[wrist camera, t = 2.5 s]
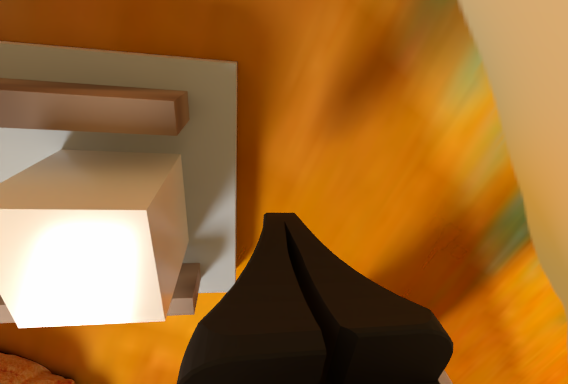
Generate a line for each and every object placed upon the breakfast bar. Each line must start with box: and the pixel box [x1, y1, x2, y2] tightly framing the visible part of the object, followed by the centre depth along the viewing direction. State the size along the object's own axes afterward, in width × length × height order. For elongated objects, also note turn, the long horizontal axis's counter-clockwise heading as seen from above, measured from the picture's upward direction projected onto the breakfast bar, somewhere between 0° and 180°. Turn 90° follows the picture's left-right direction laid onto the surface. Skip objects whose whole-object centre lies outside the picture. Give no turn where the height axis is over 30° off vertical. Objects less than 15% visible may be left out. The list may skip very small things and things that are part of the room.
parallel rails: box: [0, 78, 201, 323], centre depth 12 cm, size 10×11×2 cm
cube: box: [0, 149, 189, 328], centre depth 11 cm, size 5×5×5 cm
